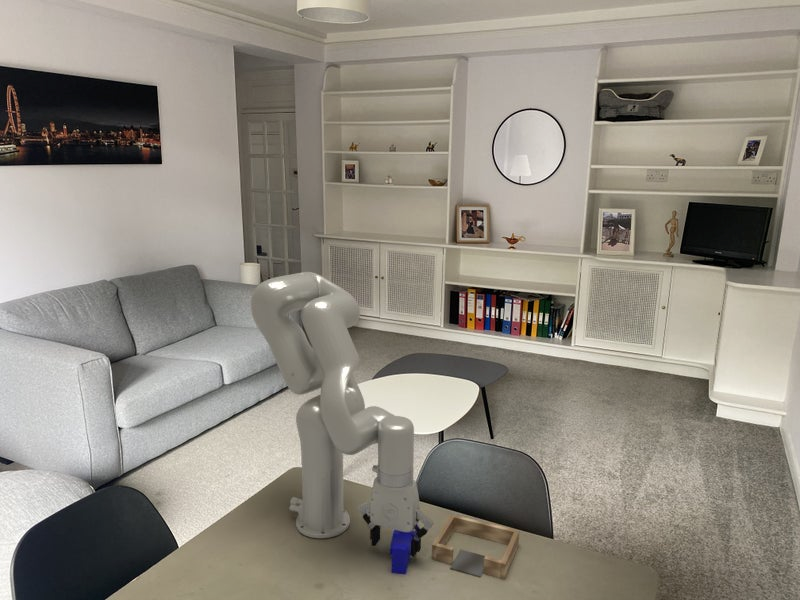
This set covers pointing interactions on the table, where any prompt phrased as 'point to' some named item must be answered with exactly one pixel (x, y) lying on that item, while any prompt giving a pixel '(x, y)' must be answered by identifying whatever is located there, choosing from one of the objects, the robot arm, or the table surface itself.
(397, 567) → the blue stepped block
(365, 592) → the table surface
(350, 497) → the table surface
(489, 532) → the walled box
